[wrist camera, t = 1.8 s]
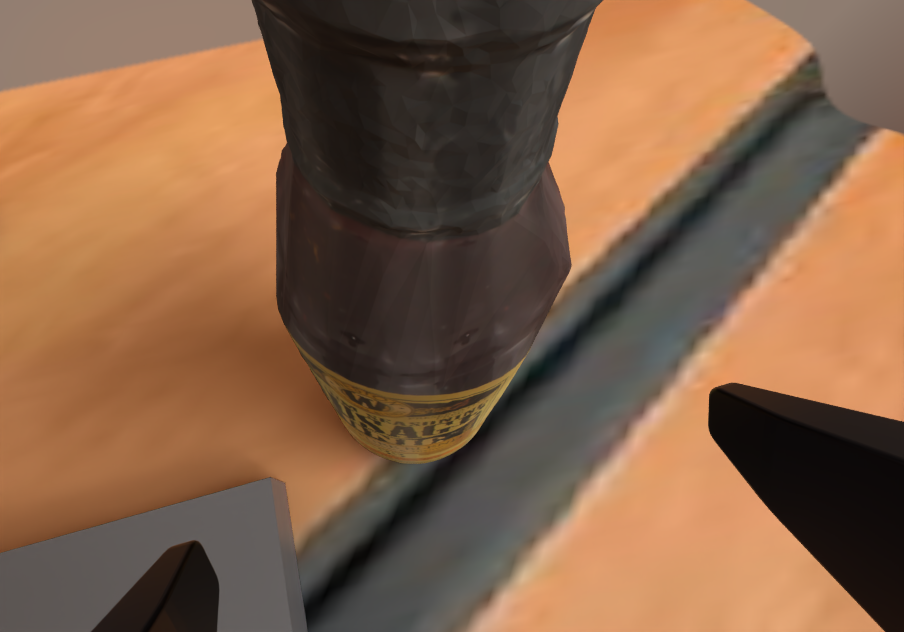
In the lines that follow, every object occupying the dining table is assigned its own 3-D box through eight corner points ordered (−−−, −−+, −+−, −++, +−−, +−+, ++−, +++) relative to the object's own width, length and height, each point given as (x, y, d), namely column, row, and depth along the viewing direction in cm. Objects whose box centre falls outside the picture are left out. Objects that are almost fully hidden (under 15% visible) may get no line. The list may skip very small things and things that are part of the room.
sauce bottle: (316, 437, 21) (-443, -246, 3) (378, 308, 23) (194, -508, 5) (466, 496, 20) (790, 106, 2) (514, 357, 23) (855, -389, 4)
